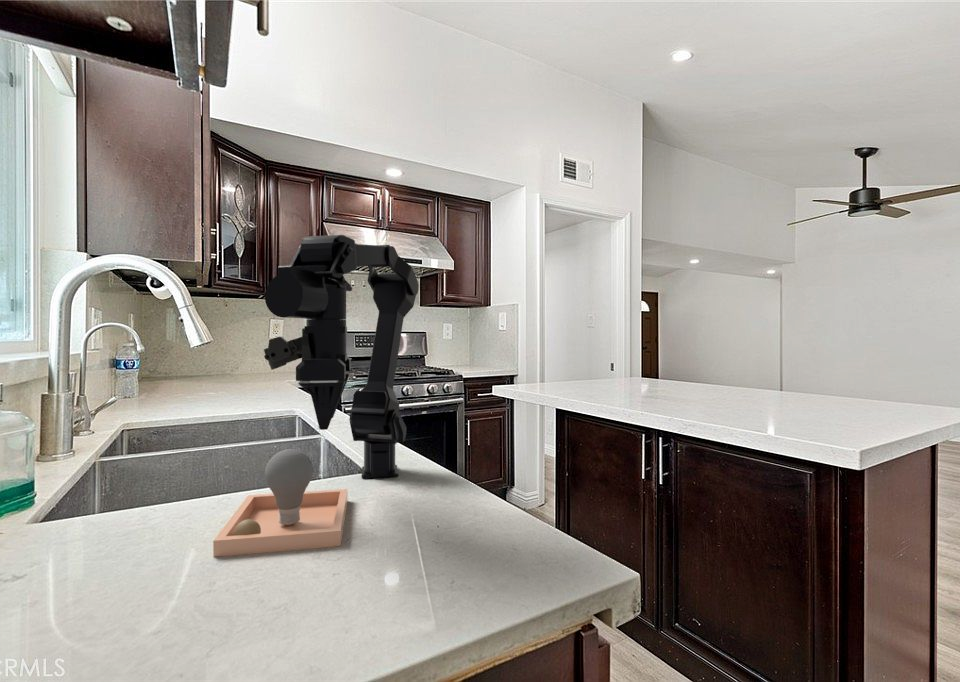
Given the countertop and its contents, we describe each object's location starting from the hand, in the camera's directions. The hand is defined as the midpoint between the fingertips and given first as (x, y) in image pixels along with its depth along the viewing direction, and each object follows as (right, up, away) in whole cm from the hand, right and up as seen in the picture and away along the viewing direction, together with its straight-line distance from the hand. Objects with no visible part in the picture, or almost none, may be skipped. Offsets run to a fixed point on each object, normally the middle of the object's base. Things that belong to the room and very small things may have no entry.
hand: (326, 423), depth 74 cm
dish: (-2, -13, -8) cm, 15 cm away
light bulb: (-2, -12, -8) cm, 15 cm away
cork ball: (-5, -12, -15) cm, 20 cm away
